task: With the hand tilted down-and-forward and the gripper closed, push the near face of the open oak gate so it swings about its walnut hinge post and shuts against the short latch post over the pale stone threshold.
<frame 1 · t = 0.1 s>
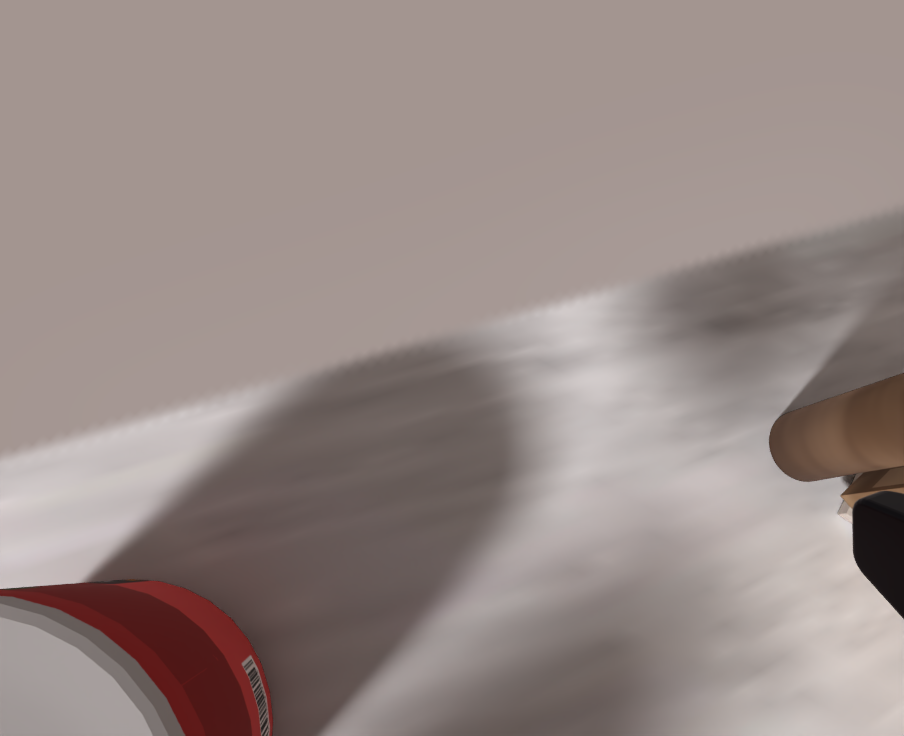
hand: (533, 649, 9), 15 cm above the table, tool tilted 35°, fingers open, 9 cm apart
hinge post: (803, 445, 26), on the table
canned food: (139, 720, 22), on the table
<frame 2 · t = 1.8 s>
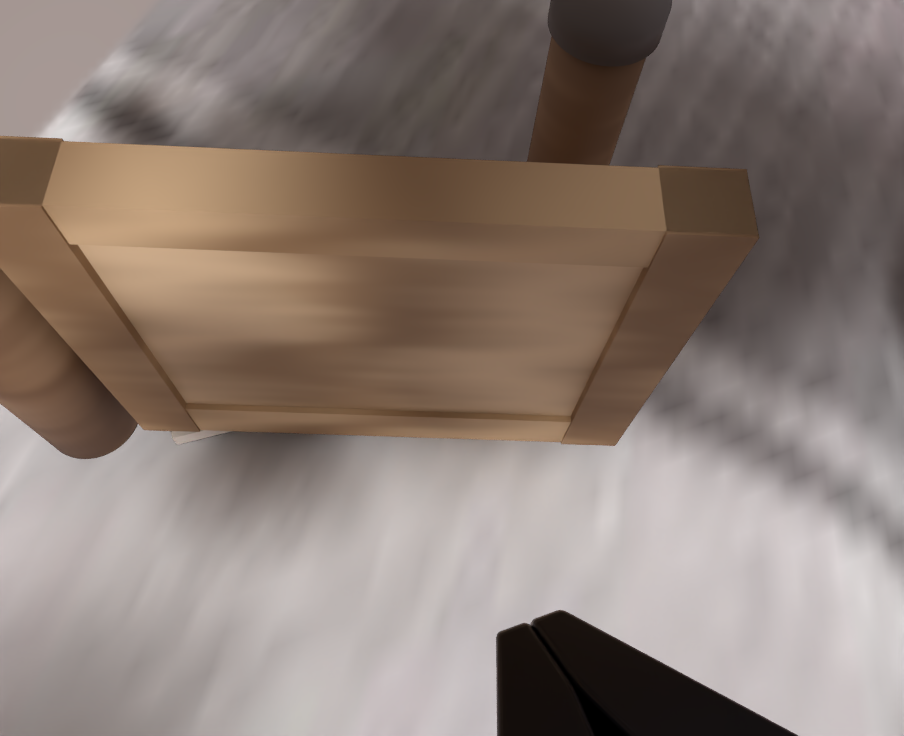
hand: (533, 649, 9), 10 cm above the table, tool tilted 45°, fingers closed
latch post: (541, 259, 23), on the table
hinge post: (93, 415, 20), on the table
gate: (375, 330, 16), point 5 cm above the table, hinge at 0.0°
threshold: (345, 355, 21), on the table
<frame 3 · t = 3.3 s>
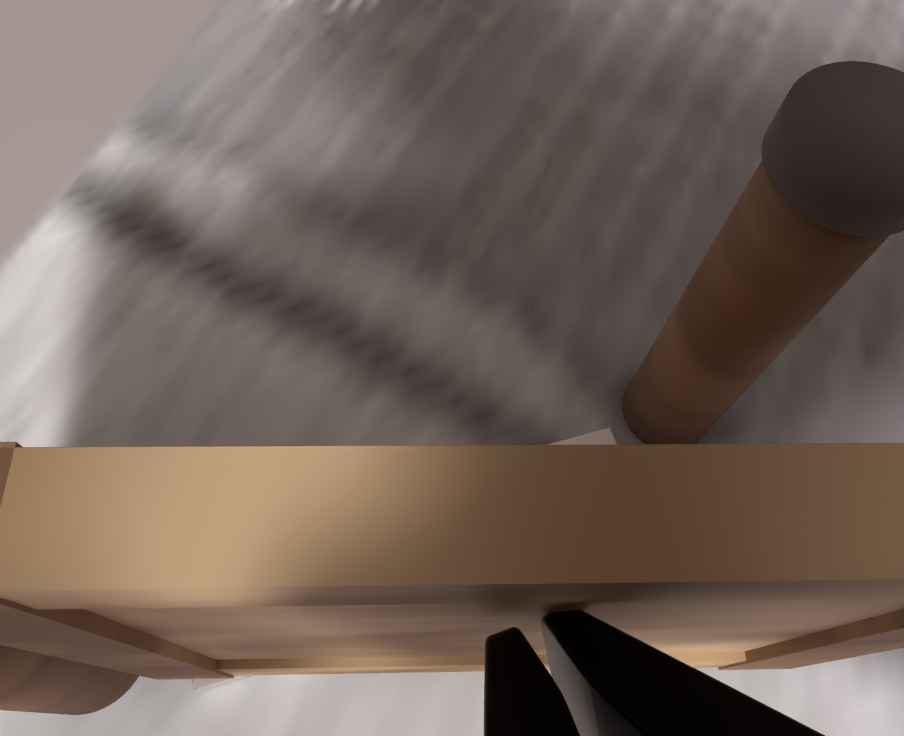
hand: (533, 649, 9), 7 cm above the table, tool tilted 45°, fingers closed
latch post: (665, 409, 18), on the table
hinge post: (87, 648, 15), on the table
gate: (500, 599, 11), point 5 cm above the table, hinge at 2.1°, touching gripper
threshold: (419, 552, 16), on the table
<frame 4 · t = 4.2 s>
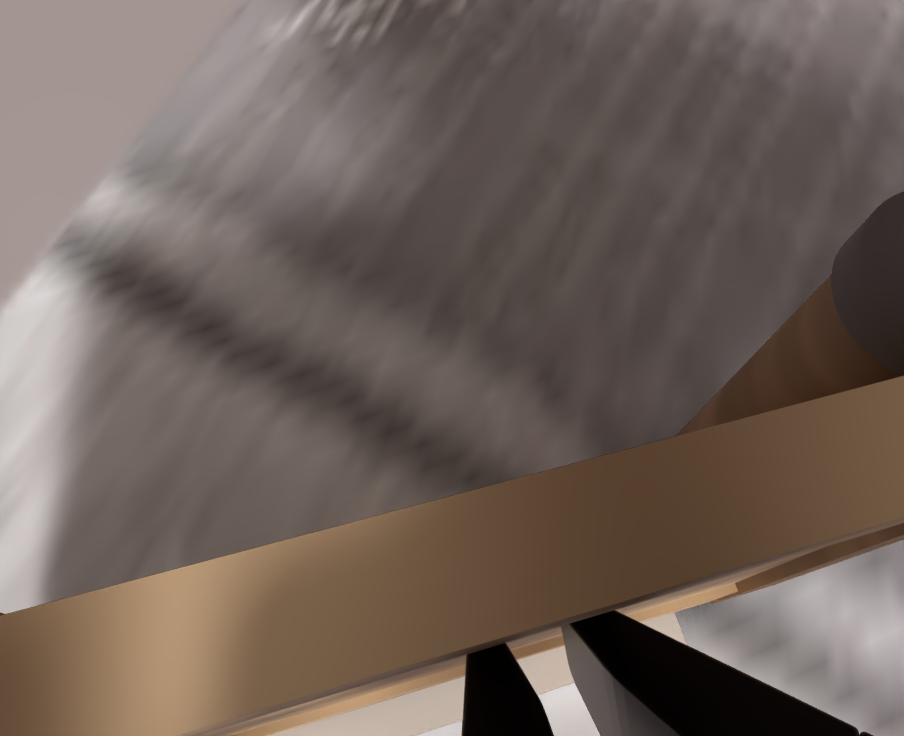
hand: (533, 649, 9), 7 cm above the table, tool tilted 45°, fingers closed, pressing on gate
latch post: (690, 487, 17), on the table
gate: (510, 605, 11), point 5 cm above the table, hinge at 16.7°, touching gripper, latch post
threshold: (433, 647, 15), on the table
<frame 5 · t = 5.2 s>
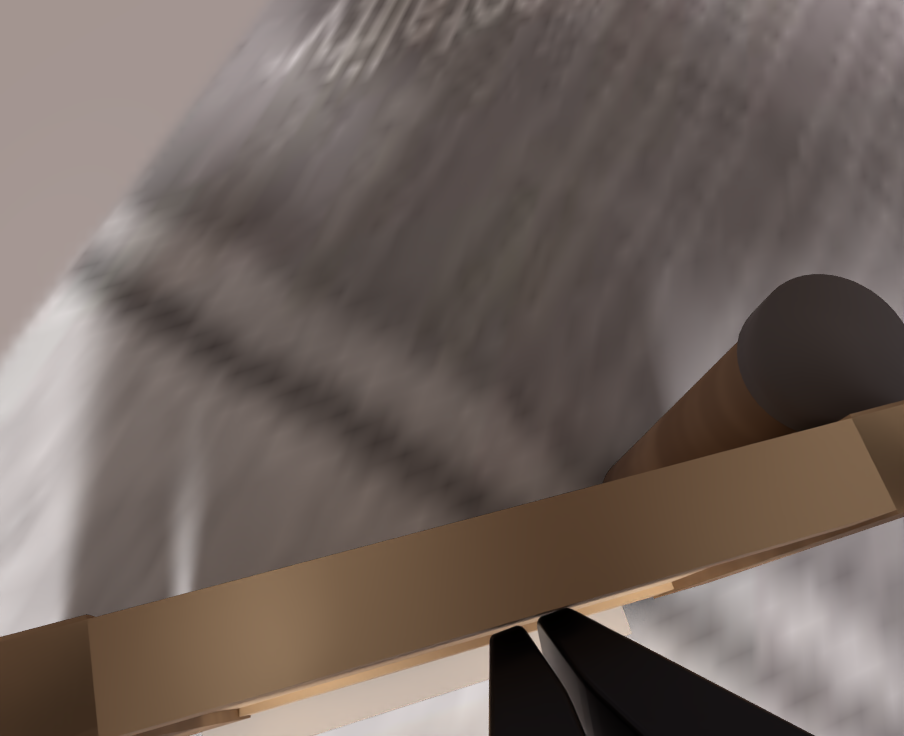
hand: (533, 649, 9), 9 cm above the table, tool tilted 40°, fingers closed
latch post: (641, 495, 19), on the table
gate: (475, 603, 13), point 5 cm above the table, hinge at 16.7°, touching latch post
threshold: (412, 634, 18), on the table
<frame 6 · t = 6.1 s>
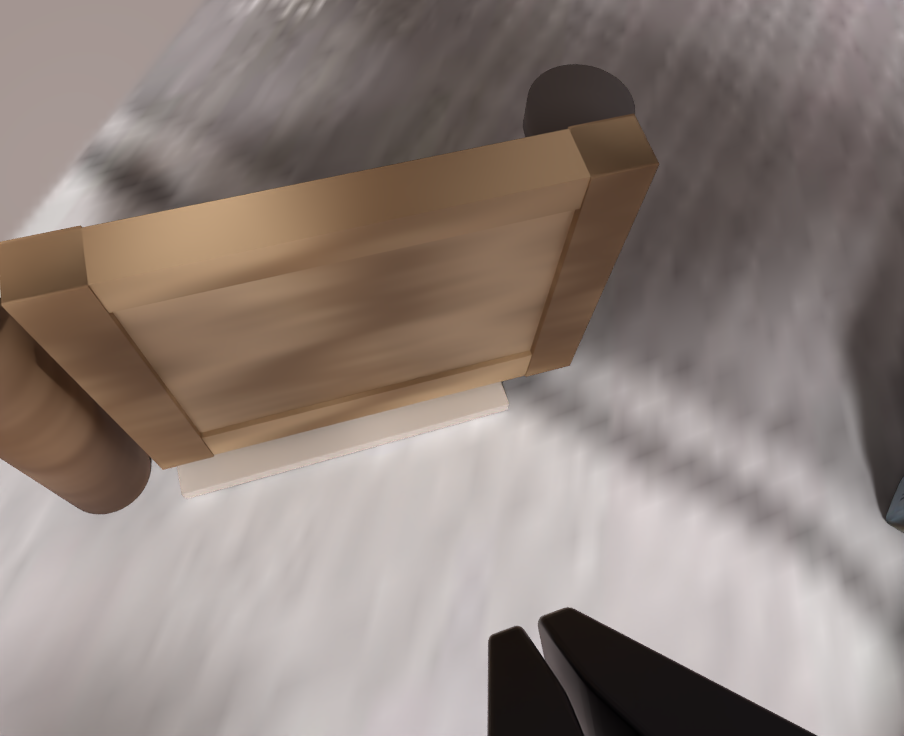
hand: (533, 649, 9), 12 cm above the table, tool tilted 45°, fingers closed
latch post: (523, 313, 25), on the table
hinge post: (107, 472, 22), on the table
gate: (360, 320, 18), point 5 cm above the table, hinge at 16.7°, touching latch post
threshold: (340, 410, 23), on the table
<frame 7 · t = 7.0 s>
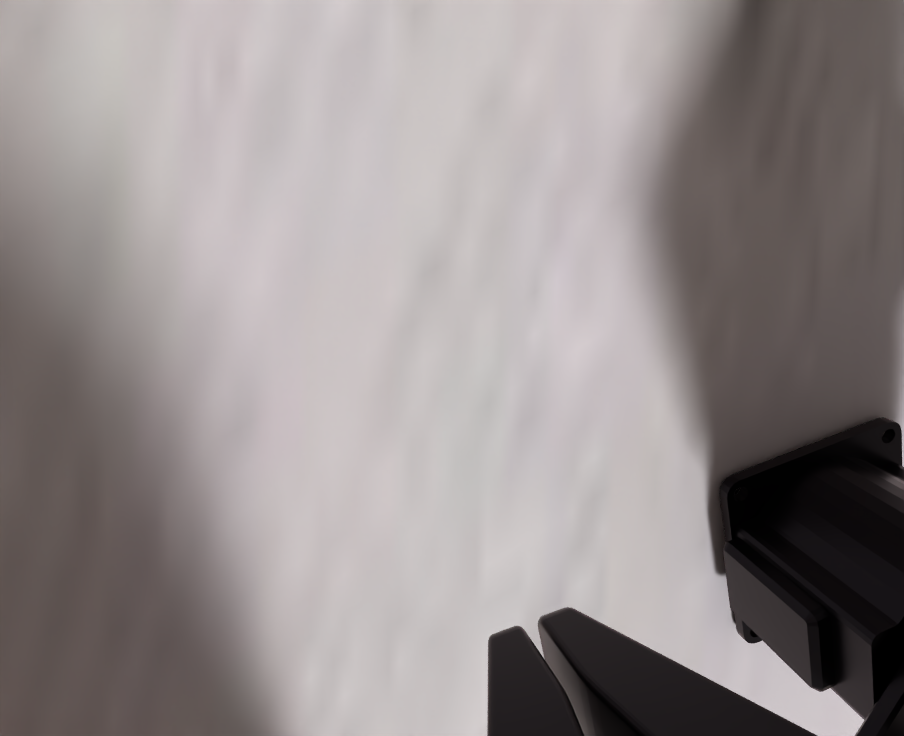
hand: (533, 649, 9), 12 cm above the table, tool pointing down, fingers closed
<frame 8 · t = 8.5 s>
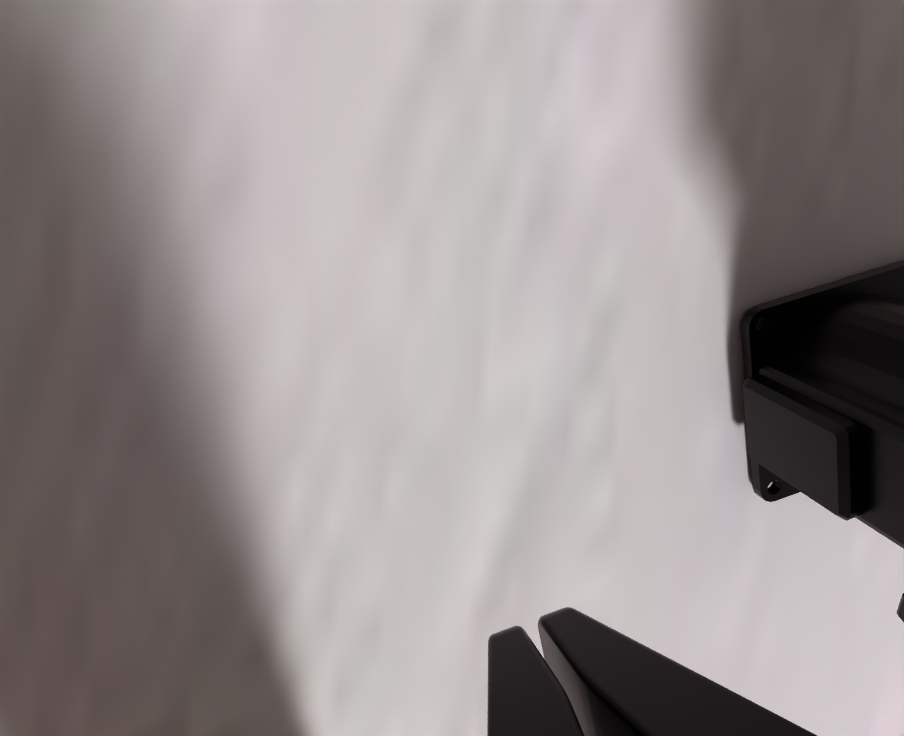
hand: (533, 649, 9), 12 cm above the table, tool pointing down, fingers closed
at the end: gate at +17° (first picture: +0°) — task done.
